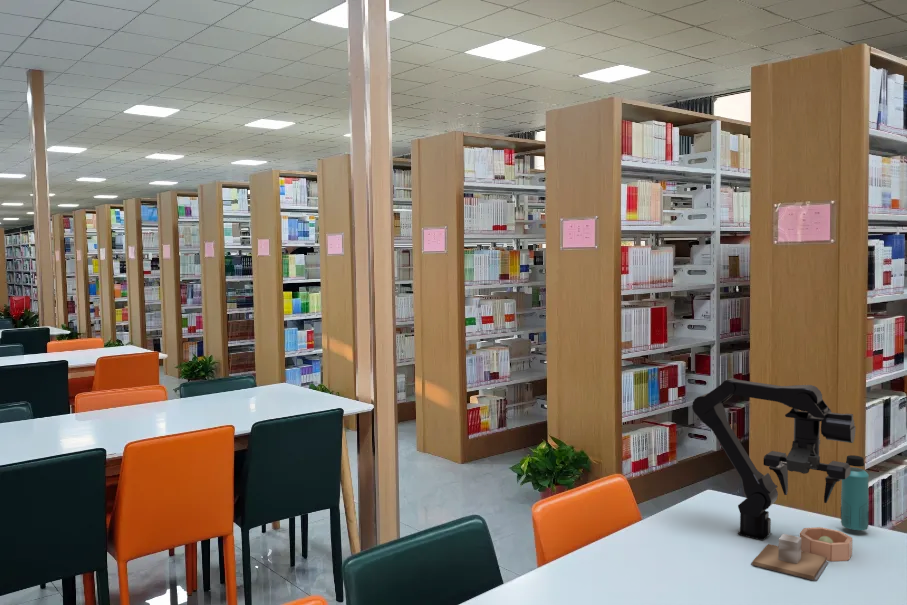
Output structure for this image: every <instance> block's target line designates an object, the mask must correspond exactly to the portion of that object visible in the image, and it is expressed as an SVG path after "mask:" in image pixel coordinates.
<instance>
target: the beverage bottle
mask: <svg viewBox="0 0 907 605" xmlns="http://www.w3.org/2000/svg"><path fill="white" fill-rule="evenodd" d="M845 459H846V461H845V463H848V464H849V465H850V468H851V473H850V475H849V476H848V477H847V478H846V479H842V480H841V490H840V493H841V494H840V523H841V525H842V527H844V528H846V529H850V530H854V531H865V530H867V529H868V528H869V524H870V511H869V505H870V500H869V499H870V498H869V496H870V495H869V477H870V475H869V473H868V472H867V471H866V470H864V469H862V468H859V467H864V466H865V462H864V461H865V460H864V457H862V456H859V455H851V454H850V455H846V458H845ZM851 466H852V467H851Z"/></svg>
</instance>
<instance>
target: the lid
mask: <svg viewBox="0 0 907 605" xmlns="http://www.w3.org/2000/svg"><path fill="white" fill-rule="evenodd" d="M826 561H827V560H826V557H824V556H819V555H815V554H811V553H806V552H803V551H801V537H800V536H795V535H790V534H786V533H782V534H781V535H780V537H779V538H778V545H774V544H770V543H768V544H767V545H766V546H765V547H764V548H763V549H762V550H761V551H760V552H759V554H758V555H757V556H756V557H755V558H754V559H753V560H752V562H753V565H756V566H755V567H757V566H760V567H759V568H761V567H764V568H763V569H765V568H768V569H767V570H769V569H773V570H777V571H781V572H785V573H789V574H793V575H797V576H801V577H805V578H809V579H813V580H814V578H815V577H816V575H817V574H818V572H819V571H820V569H821V568H822V566H823V565H824V563H825V562H826ZM753 565H752V566H753ZM773 570H772V571H773ZM777 571H776V572H777ZM781 572H780V573H781ZM785 573H784V574H785ZM789 574H788V575H789ZM793 575H792V576H793ZM797 576H796V577H797ZM801 577H800V578H801ZM805 578H804V579H805ZM809 579H808V580H809ZM813 580H812V581H813Z"/></svg>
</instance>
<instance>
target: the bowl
mask: <svg viewBox="0 0 907 605" xmlns="http://www.w3.org/2000/svg"><path fill="white" fill-rule="evenodd" d="M799 537H801V551H802V552H806V553H811V554H815V555H819V556H824V557H826V561H827V562H846V561H849V560H850V559H851V557H852V556H853V537H851V536H849V535H848V534H847V533H844V532H842V530H841V531H840V530H836V529H831V528H826V527H821V526H819V527H803V528H802V529H801V531H800V532H799Z"/></svg>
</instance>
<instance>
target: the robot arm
mask: <svg viewBox="0 0 907 605" xmlns="http://www.w3.org/2000/svg"><path fill="white" fill-rule="evenodd" d="M821 391H822V390H820V389H819V388H818V387H817V386H815V385H812V384H798V385H797V384H796V385H795V384H794V385H777V384H770V383H763V382H755V381H749V380H748V381H747V380H742V379H737V378H732V377H731V378H729V379H726V380H724V381H722V383H720V385H718V386H717V387H715V388H714V389H713V390H711V391H710V392H708V393H704V394H702V395H700V396H697V397H696V398H694V399H693V402H692V405H691V409H692V412H693V413H694V414H695V415H696V417H697V418H698V419H699V420H700V421H701V423H703V424H704V425H705V426H706V427H707V428H709V429H710V430H711V431H712V432H713V434H714V436H715V438H716V439H717V440H718V442H719V444H720V446H721V448H722V449H723V450H724V452H725V454H726V456H727V457H728V459H729V462H731V464H732V465H733V467H734V469H735V470H736V472H737V474H738V475H739V477H740V479H741V484H742V488H743V492H744V495H745V499H744V500H743V501H742V502H740V503H739V504H737V507H738V510H739V531H738V532H737V535H739V536H742V537H747V538H751V539H756V540H760V541H764V540H766V538H767V537H768V536H770V534H771V530H772V529H771V526H772V522H771V520H772V519H771V518H770V517H769V514H770V513H769V511H767V509H769V508H770V507H771V506H772V505H773V504H774V503H775V502H776V501H777V499H778V495H779V493H778V490H777V488H778V486H777V485H776V484H775V482H774V481H773V478H772V477H771V474H770V473H768V472H767V473H766V474H763V473H761V471H760V470H758V469H757V468H756V466H755V464H754V462H753V461H752V459H751V458H750V456H749V454H748V453H747V451H746V450H745V448H744V446H743V445H742V443H741V442H740V440H739V438H738V436H737V435H736V433H735V432H734V430H733V429H732V427H731V425H730V423H729V422H728V418H727V414H726V409H725V407H724V403H725V402H727V401H728V400H729V399H730V398H731V397H732V396H738V397H744V398H751V399H758V400H764V401H771V402H777V403H779V404H783V405H785V406H786V407H788V408H791V409H790V410H789V411H788V412H787V413H785V415H784V416H785V418H790V419H791V418H792V419H793V422H794V423H793V441H792V444H791V449H790V451H789V452H788V454H786V452H782V451H775V450H772V451H770V452H767V453H766V454H765V455H764V456H763V466H765V467H768V469H769V470H770V471H773V472H774V473H775V475H776V476H777V479H778V481H779V484H780V486H781V489H782V492H783V495H784V496H787V495H788V491H789V472H795V473H799V474H802V475H803V474H804V475H805V474H806V475H807V474H809V472H810V470H815V471H820V472H826V474H827V476H826V477H824V478H825V479H824V480H825V485H824V496H823V503H824V504H827V503H828V501H829V499H830V496H831V494H832V491H833V489H834V488H835V485H836V484H837V483H838V482H841V481H842V479H846V478H847V477H848V476H849V475H850V473H851V468H850V467H851V466H850V465H849V464H848V463H846V462H841V461H837V460H832V461H830V462H829V463H825V462H824V463H823V462H821V456H820V445H821V439H820V435H821V436H822V437H824V438H825V439H826V440H827V441H835V442H844V443H849V444H854V441H855V439H856V429H857V428H856V425H855V420H854V414H852V413H838V412H832V410H831V408H830V407H829V406H828V404H827V403H826V402H825V401H824V399H823V394H822V392H821Z"/></svg>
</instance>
